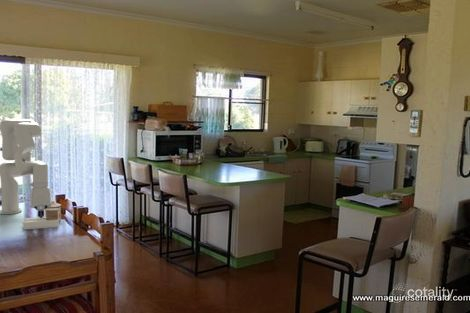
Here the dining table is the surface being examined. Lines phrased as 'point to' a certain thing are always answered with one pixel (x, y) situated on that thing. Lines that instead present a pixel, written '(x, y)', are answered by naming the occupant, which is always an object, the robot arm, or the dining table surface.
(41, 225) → the cream rectangular tray
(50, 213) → the walnut block
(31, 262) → the dining table surface
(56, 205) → the teacup with lid
